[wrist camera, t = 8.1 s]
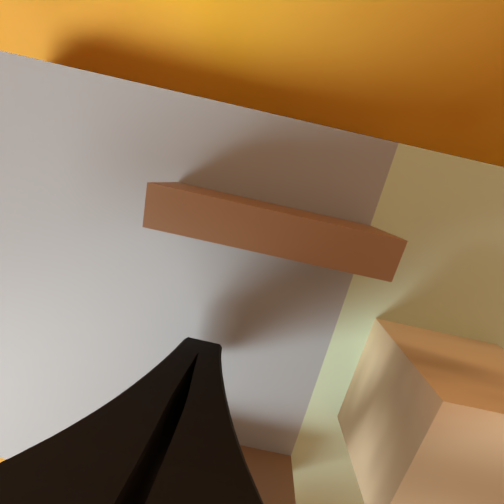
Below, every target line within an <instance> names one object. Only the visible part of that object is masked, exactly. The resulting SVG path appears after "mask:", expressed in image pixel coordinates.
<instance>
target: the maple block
mask: <svg viewBox="0 0 504 504" xmlns="http://www.w3.org/2000/svg"><path fill="white" fill-rule="evenodd" d="M337 418H338V421H339V424H340V427H341V430H342V433H343V437H344V440H345V443H346V446H347V449H348V453H349V456H350V459H351V462H352V465H353V469H354V472H355V475H356V478H357V481H358V484H359V488H360V491H361V494H362V497H363V500H364V504H504V349H503V348H502V347H500V346H499V345H496V344H491V343H487V342H482V341H478V340H473V339H469V338H464V337H459V336H455V335H450V334H446V333H441V332H437V331H432V330H427V329H423V328H418V327H414V326H409V325H405V324H400V323H395V322H391V321H386V320H382V319H377V318H375V320H374V323H373V325H372V328H371V331H370V333H369V336H368V338H367V341H366V344H365V346H364V349H363V351H362V354H361V356H360V359H359V362H358V364H357V367H356V369H355V372H354V375H353V377H352V380H351V382H350V385H349V387H348V390H347V393H346V395H345V398H344V400H343V403H342V406H341V408H340V411H339V413H338V416H337Z"/></svg>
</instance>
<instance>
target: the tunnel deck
mask: <svg viewBox="0 0 504 504" xmlns="http://www.w3.org/2000/svg"><path fill="white" fill-rule="evenodd" d="M375 318H377V319H382V320H386V321H391V322H395V323H400V324H405V325H409V326H414V327H418V328H423V329H427V330H432V331H437V332H441V333H446V334H450V335H455V336H459V337H464V338H469V339H473V340H478V341H482V342H487V343H491V344H496V345H499V346H500V347H502V348H503V349H504V167H501V166H497V165H493V164H488V163H484V162H480V161H475V160H471V159H467V158H462V157H458V156H454V155H449V154H445V153H441V152H436V151H432V150H428V149H423V148H419V147H415V146H411V145H406V144H402V143H398V142H393V141H389V140H385V139H380V138H376V137H372V136H367V135H363V134H359V133H354V132H350V131H346V130H341V129H337V128H333V127H328V126H324V125H320V124H315V123H311V122H307V121H302V120H298V119H294V118H289V117H285V116H281V115H276V114H272V113H268V112H263V111H259V110H255V109H250V108H246V107H242V106H237V105H233V104H229V103H224V102H220V101H216V100H211V99H207V98H203V97H198V96H194V95H190V94H185V93H181V92H177V91H172V90H168V89H164V88H159V87H155V86H151V85H146V84H142V83H138V82H133V81H129V80H125V79H120V78H116V77H112V76H107V75H103V74H99V73H95V72H90V71H86V70H82V69H77V68H73V67H69V66H64V65H60V64H56V63H51V62H47V61H43V60H38V59H34V58H30V57H25V56H21V55H17V54H12V53H8V52H4V51H0V458H4V459H9V458H11V457H13V456H15V455H17V454H19V453H21V452H23V451H24V450H26V449H28V448H30V447H32V446H34V445H36V444H38V443H40V442H42V441H44V440H46V439H48V438H50V437H52V436H53V435H55V434H57V433H59V432H61V431H62V430H64V429H66V428H68V427H69V426H71V425H73V424H74V423H76V422H78V421H79V420H81V419H83V418H84V417H86V416H88V415H89V414H91V413H93V412H94V411H96V410H97V409H99V408H100V407H102V406H103V405H105V404H106V403H108V402H109V401H111V400H112V399H114V398H115V397H117V396H118V395H120V394H121V393H122V392H124V391H125V390H126V389H128V388H129V387H130V386H132V385H133V384H134V383H136V382H137V381H138V380H139V379H141V378H142V377H143V376H145V375H146V374H147V373H148V372H150V371H151V370H152V369H153V368H154V367H155V366H157V365H158V364H159V363H160V362H161V361H162V360H164V359H165V358H166V357H167V356H168V355H169V354H170V353H171V352H172V351H173V350H174V349H175V348H176V347H177V346H178V345H179V344H180V343H181V342H182V341H183V340H184V339H185V338H187V337H190V338H195V339H199V340H203V341H208V342H212V343H217V344H220V345H221V347H222V353H221V363H222V373H223V380H224V386H225V392H226V397H227V402H228V406H229V410H230V414H231V418H232V422H233V425H234V428H235V432H236V435H237V438H238V441H239V444H240V447H241V450H242V452H243V455H244V458H245V461H246V463H247V466H248V468H249V471H250V473H251V475H252V478H253V480H254V482H255V485H256V487H257V489H258V492H259V494H260V497H261V499H262V501H263V503H264V504H364V500H363V497H362V494H361V491H360V488H359V484H358V481H357V478H356V475H355V472H354V469H353V465H352V462H351V459H350V456H349V453H348V449H347V446H346V443H345V440H344V437H343V433H342V430H341V427H340V424H339V421H338V418H337V416H338V413H339V411H340V408H341V406H342V403H343V400H344V398H345V395H346V393H347V390H348V387H349V385H350V382H351V380H352V377H353V375H354V372H355V369H356V367H357V364H358V362H359V359H360V356H361V354H362V351H363V349H364V346H365V344H366V341H367V338H368V336H369V333H370V331H371V328H372V325H373V323H374V320H375Z"/></svg>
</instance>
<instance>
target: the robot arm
mask: <svg viewBox="0 0 504 504" xmlns="http://www.w3.org/2000/svg"><path fill="white" fill-rule="evenodd" d="M221 353H222V347H221V345H220V344H217V343H212V342H208V341H203V340H199V339H195V338H190V337H187V338H185V339H184V340H183V341H182V342H181V343H180V344H179V345H178V346H177V347H176V348H175V349H174V350H173V351H172V352H171V353H170V354H169V355H168V356H167V357H166V358H165V359H164V360H162V361H161V362H160V363H159V364H158V365H157V366H155V367H154V368H153V369H152V370H151V371H150V372H148V373H147V374H146V375H145V376H143V377H142V378H141V379H139V380H138V381H137V382H136V383H134V384H133V385H132V386H130V387H129V388H128V389H126V390H125V391H124V392H122V393H121V394H120V395H118V396H117V397H115V398H114V399H112V400H111V401H109V402H108V403H106V404H105V405H103V406H102V407H100V408H99V409H97V410H96V411H94V412H93V413H91V414H89V415H88V416H86V417H84V418H83V419H81V420H79V421H78V422H76V423H74V424H73V425H71V426H69V427H68V428H66V429H64V430H62V431H61V432H59V433H57V434H55V435H53V436H52V437H50V438H48V439H46V440H44V441H42V442H40V443H38V444H36V445H34V446H32V447H30V448H28V449H26V450H24V451H23V452H21V453H19V454H17V455H15V456H13V457H11V458H9V459H7V460H5V461H3V462H1V463H0V504H264V503H263V501H262V499H261V497H260V494H259V492H258V489H257V487H256V485H255V482H254V480H253V478H252V475H251V473H250V471H249V468H248V466H247V463H246V461H245V458H244V455H243V452H242V450H241V447H240V444H239V441H238V438H237V435H236V432H235V428H234V425H233V422H232V418H231V414H230V410H229V406H228V402H227V397H226V392H225V386H224V380H223V373H222V363H221Z"/></svg>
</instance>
